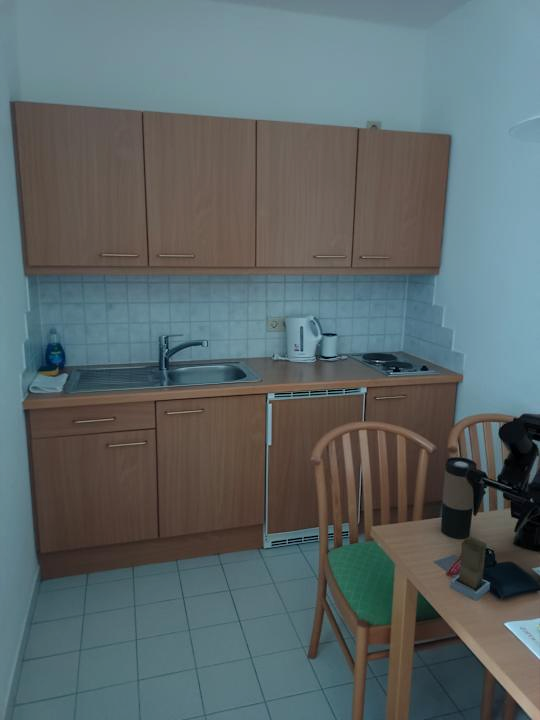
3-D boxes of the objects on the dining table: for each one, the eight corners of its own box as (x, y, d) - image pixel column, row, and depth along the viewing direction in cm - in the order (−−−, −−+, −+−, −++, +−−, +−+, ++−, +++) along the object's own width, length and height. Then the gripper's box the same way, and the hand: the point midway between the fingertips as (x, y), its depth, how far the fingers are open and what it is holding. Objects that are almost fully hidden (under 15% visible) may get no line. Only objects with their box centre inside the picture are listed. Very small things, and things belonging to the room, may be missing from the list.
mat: (454, 556, 129) (454, 554, 128) (477, 571, 122) (477, 569, 122) (432, 563, 125) (432, 561, 125) (455, 579, 119) (455, 577, 119)
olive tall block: (466, 581, 118) (470, 536, 116) (481, 588, 115) (486, 543, 113) (457, 587, 116) (461, 542, 113) (473, 595, 113) (478, 549, 111)
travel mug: (434, 528, 142) (439, 458, 138) (458, 524, 144) (464, 455, 140) (451, 542, 134) (458, 469, 131) (476, 538, 137) (483, 466, 133)
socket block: (463, 578, 120) (464, 569, 119) (489, 590, 115) (490, 581, 115) (450, 588, 116) (450, 579, 115) (475, 602, 111) (476, 593, 111)
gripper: (566, 490, 122) (542, 552, 118) (486, 463, 135) (462, 518, 130) (561, 471, 115) (536, 537, 110) (477, 445, 127) (451, 502, 122)
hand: (494, 523), depth 118 cm, fingers open, 9 cm apart
